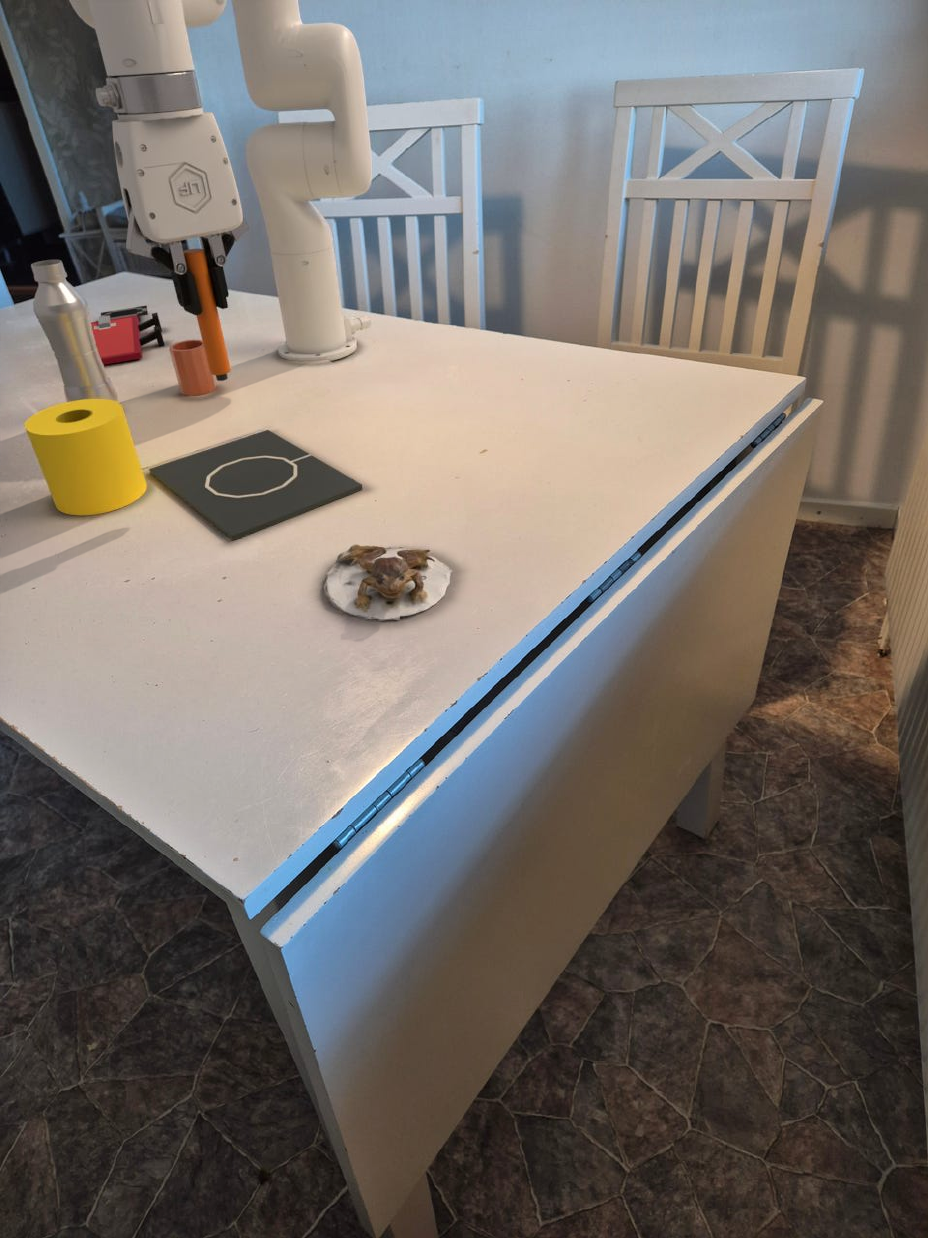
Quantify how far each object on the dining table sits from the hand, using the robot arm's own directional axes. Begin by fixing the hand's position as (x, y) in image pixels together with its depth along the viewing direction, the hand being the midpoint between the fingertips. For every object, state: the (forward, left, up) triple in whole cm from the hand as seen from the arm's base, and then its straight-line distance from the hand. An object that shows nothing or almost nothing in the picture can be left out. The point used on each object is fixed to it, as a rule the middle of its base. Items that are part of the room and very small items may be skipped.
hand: (206, 307), depth 84 cm
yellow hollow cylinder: (+14, -8, -19) cm, 25 cm away
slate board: (0, +2, -19) cm, 19 cm away
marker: (0, 0, -8) cm, 8 cm away
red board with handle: (-10, -67, -19) cm, 71 cm away
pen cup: (-8, -30, -19) cm, 37 cm away
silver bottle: (+6, -33, -19) cm, 39 cm away
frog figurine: (+1, +31, -19) cm, 36 cm away
